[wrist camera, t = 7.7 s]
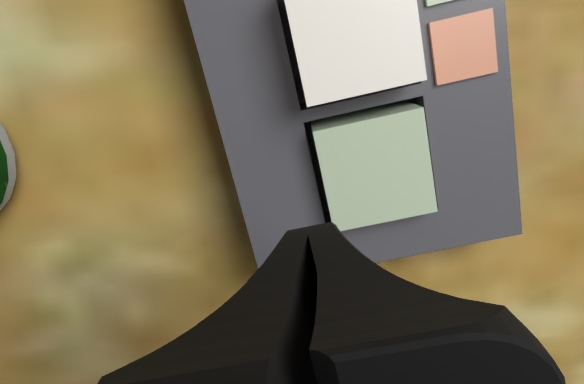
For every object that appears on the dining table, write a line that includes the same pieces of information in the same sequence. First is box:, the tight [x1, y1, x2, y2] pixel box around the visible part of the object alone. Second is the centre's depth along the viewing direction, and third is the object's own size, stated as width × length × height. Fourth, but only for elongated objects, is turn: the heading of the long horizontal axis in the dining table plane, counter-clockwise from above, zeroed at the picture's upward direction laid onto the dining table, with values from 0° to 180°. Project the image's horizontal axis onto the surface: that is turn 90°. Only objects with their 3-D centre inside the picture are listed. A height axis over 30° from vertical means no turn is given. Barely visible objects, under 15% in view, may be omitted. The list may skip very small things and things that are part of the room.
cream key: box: [284, 0, 427, 107], centre depth 17 cm, size 4×4×4 cm
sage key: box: [311, 100, 438, 231], centre depth 19 cm, size 4×4×4 cm
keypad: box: [184, 0, 522, 269], centre depth 18 cm, size 20×12×3 cm, turn 13°
